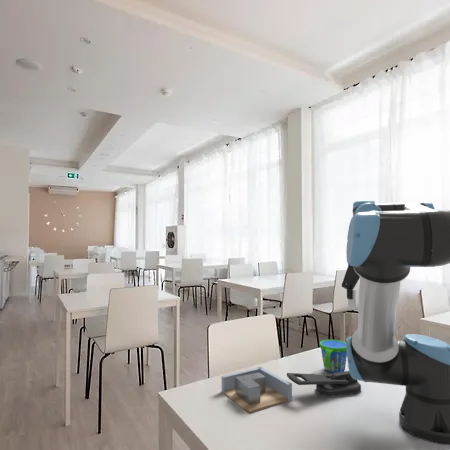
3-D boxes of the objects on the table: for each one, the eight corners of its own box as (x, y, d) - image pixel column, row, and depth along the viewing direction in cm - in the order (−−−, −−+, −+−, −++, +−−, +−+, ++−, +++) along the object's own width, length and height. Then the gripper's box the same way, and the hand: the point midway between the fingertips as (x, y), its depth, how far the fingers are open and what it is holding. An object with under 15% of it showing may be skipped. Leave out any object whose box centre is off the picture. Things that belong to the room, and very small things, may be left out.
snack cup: (339, 380, 120) (338, 351, 121) (312, 373, 127) (311, 345, 128) (355, 368, 132) (355, 341, 132) (330, 361, 139) (329, 336, 139)
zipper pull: (283, 372, 111) (346, 362, 120) (284, 392, 111) (347, 381, 119) (298, 382, 103) (364, 372, 111) (298, 405, 103) (365, 392, 111)
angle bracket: (259, 387, 113) (259, 372, 114) (274, 398, 105) (273, 382, 105) (235, 392, 110) (235, 377, 110) (248, 405, 101) (248, 388, 102)
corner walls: (292, 399, 106) (291, 383, 106) (249, 413, 98) (249, 395, 98) (260, 381, 120) (260, 366, 120) (221, 391, 112) (221, 376, 112)
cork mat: (288, 401, 105) (288, 399, 105) (249, 413, 98) (249, 411, 98) (259, 383, 118) (259, 381, 118) (223, 393, 111) (223, 391, 111)
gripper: (381, 244, 126) (382, 302, 125) (329, 245, 115) (331, 308, 114) (399, 245, 119) (401, 305, 118) (346, 245, 109) (347, 312, 108)
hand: (366, 307), depth 116 cm, fingers open, 13 cm apart
